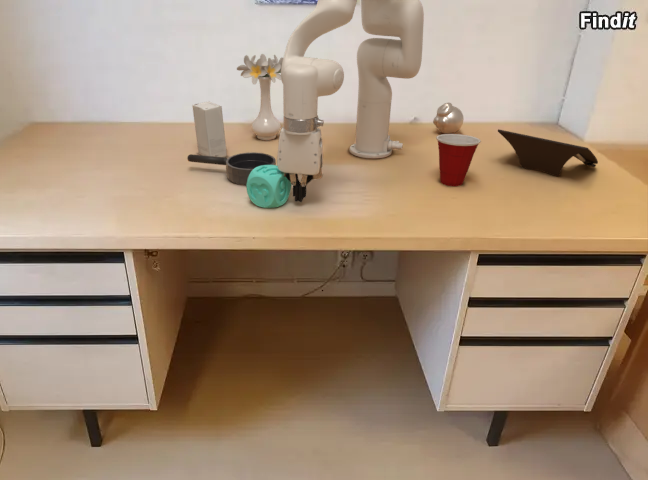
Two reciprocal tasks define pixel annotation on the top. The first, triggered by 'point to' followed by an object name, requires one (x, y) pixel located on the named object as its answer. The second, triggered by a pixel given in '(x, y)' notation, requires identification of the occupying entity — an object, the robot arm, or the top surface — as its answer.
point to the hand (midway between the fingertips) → (299, 199)
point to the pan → (246, 165)
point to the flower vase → (263, 93)
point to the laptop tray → (546, 152)
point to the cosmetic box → (209, 129)
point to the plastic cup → (455, 157)
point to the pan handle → (207, 159)
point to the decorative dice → (268, 186)
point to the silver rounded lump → (448, 119)
